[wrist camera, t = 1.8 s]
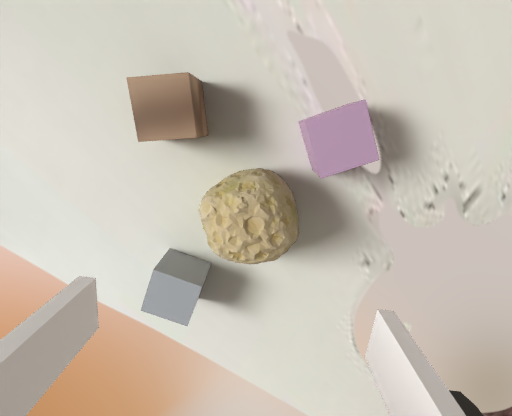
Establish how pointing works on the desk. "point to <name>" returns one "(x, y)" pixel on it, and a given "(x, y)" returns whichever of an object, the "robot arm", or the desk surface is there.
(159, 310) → the slate cube
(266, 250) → the decorative object
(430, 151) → the desk surface
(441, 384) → the robot arm
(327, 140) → the plum cube
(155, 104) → the walnut cube
